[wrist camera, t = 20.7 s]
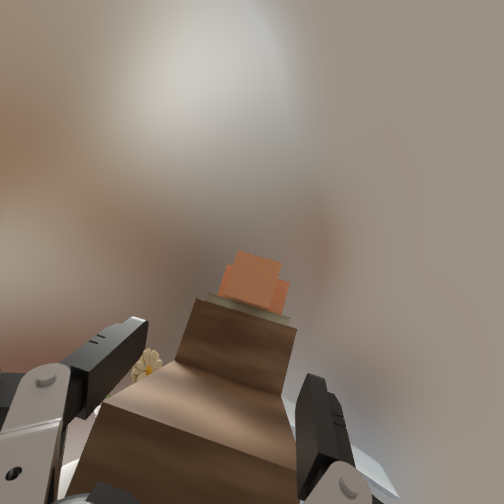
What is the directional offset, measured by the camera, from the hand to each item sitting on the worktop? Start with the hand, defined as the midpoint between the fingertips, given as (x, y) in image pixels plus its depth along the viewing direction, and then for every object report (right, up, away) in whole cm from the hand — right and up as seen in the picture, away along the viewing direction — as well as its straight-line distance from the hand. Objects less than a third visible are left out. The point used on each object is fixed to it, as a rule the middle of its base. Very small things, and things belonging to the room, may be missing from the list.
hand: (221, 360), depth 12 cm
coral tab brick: (+1, -1, +18) cm, 18 cm away
